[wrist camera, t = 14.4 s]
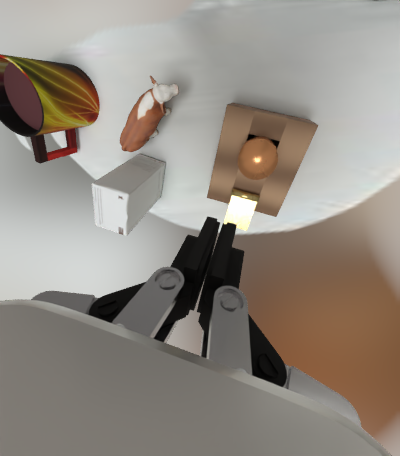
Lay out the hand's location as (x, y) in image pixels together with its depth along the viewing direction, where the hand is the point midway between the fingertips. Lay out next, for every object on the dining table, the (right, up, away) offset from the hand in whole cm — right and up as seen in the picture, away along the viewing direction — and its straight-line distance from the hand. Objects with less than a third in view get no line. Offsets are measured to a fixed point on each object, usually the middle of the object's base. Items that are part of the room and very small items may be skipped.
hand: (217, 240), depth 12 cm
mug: (-23, +23, +28) cm, 43 cm away
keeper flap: (+6, +4, +23) cm, 24 cm away
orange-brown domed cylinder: (+9, +14, +23) cm, 28 cm away
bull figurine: (-8, +21, +25) cm, 33 cm away
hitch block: (+9, +13, +24) cm, 29 cm away
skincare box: (-11, +11, +32) cm, 35 cm away
